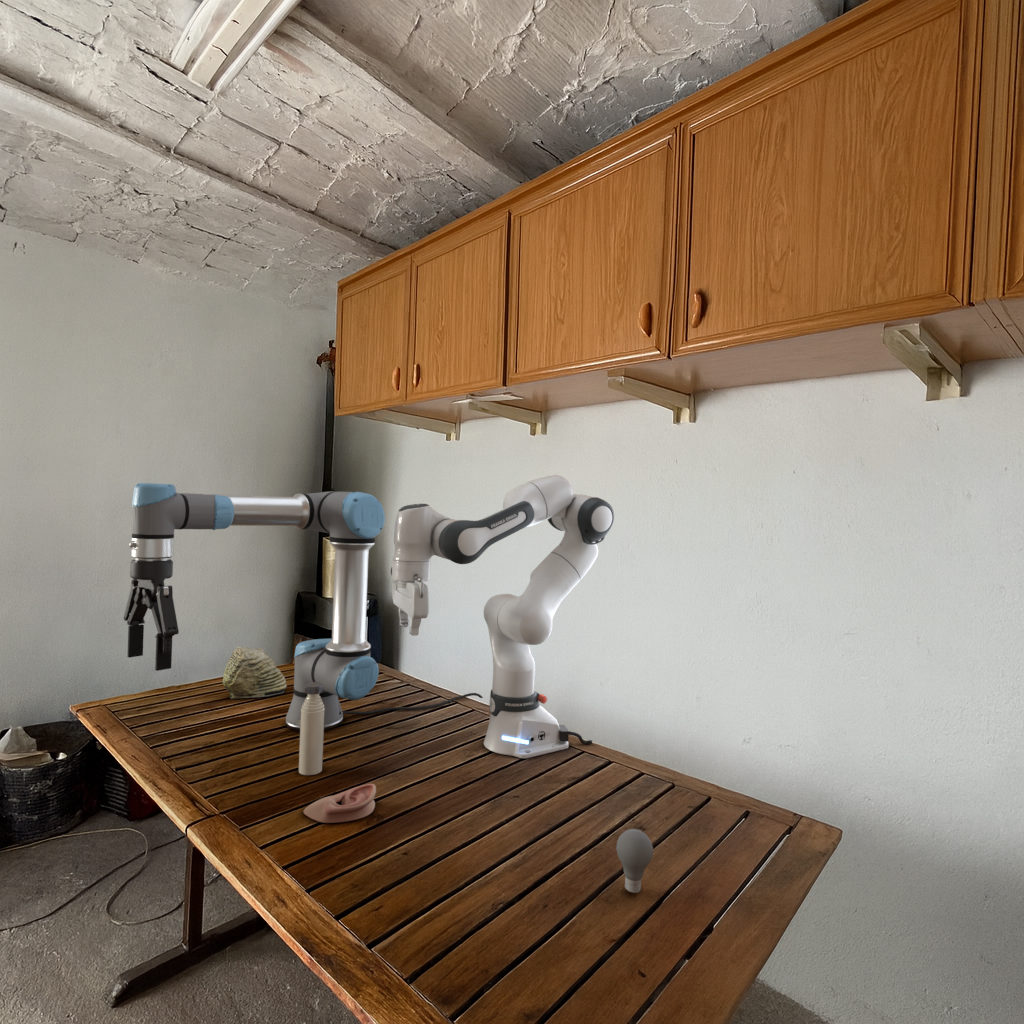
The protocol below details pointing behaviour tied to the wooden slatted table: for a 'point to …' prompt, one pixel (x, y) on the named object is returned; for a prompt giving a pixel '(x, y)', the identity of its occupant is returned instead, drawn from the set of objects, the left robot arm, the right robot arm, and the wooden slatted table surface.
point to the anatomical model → (343, 805)
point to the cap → (313, 688)
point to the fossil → (252, 674)
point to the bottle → (311, 735)
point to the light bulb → (634, 857)
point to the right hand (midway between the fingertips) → (408, 630)
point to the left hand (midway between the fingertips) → (148, 662)
